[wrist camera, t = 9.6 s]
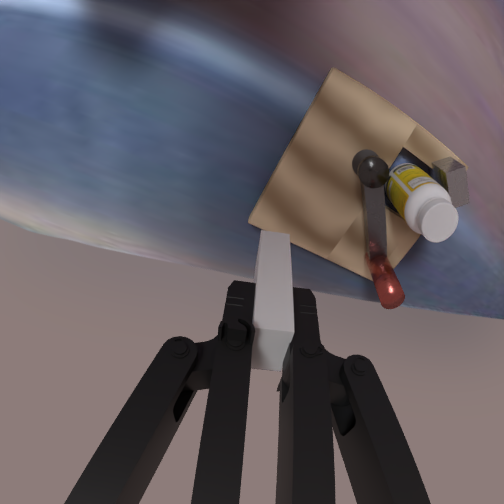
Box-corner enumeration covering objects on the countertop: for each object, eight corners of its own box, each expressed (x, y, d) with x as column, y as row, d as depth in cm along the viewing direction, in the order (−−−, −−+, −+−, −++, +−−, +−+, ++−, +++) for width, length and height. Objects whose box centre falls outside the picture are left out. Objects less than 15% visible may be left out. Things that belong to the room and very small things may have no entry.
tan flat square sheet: (331, 67, 29) (334, 67, 28) (462, 163, 33) (469, 168, 32) (248, 217, 41) (247, 224, 39) (377, 278, 45) (380, 286, 43)
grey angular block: (426, 158, 34) (445, 173, 29) (444, 152, 33) (465, 166, 28) (432, 191, 36) (450, 209, 32) (449, 185, 35) (469, 203, 31)
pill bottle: (406, 212, 38) (438, 258, 29) (374, 188, 37) (403, 231, 28) (432, 179, 35) (473, 217, 26) (402, 152, 34) (441, 184, 25)
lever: (351, 153, 33) (373, 180, 25) (380, 148, 32) (409, 175, 24) (363, 266, 41) (378, 311, 34) (387, 262, 40) (406, 305, 33)
